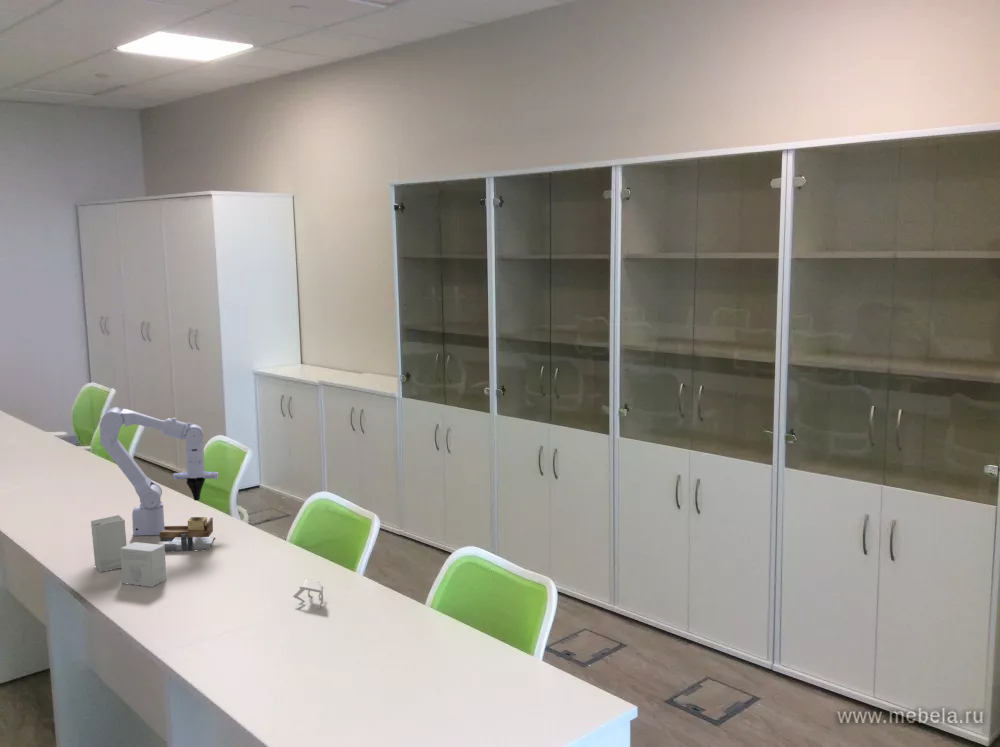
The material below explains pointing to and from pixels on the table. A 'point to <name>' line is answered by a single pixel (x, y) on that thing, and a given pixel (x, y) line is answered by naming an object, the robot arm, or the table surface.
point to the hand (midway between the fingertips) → (196, 499)
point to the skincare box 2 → (143, 564)
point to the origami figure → (310, 589)
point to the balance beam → (184, 532)
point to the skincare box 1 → (108, 542)
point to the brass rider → (197, 524)
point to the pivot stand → (188, 543)
